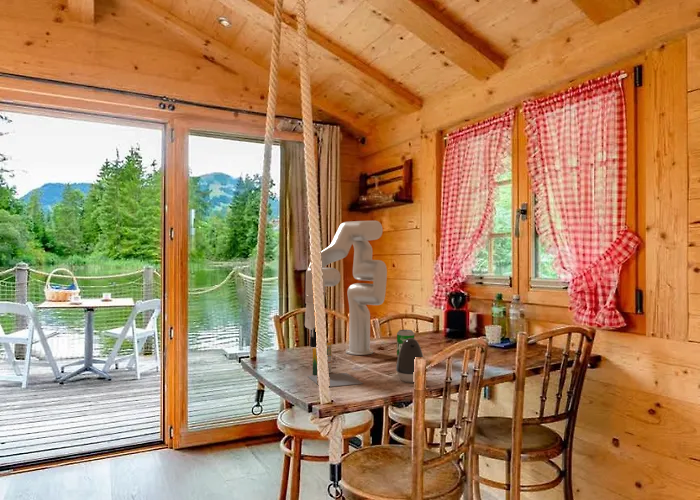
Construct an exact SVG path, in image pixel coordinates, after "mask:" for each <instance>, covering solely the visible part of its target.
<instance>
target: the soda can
mask: <svg viewBox="0 0 700 500" xmlns="http://www.w3.org/2000/svg"><path fill="white" fill-rule="evenodd" d="M408 338H413V339H415V332H414V331H413V329H412V330H411V329H399V330H398V331H397V332H396V356H397V357H398V355H399V351H400V348H401V346H402V344H403V342H404V341H405V340H406V339H408Z"/></svg>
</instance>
